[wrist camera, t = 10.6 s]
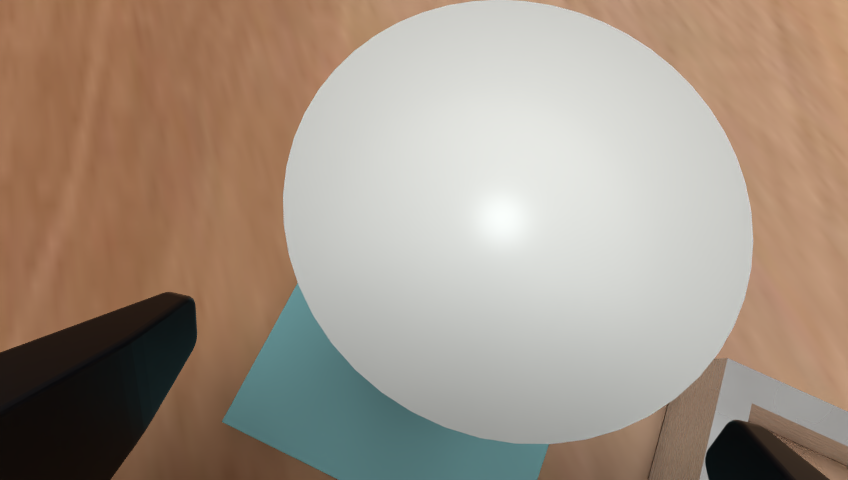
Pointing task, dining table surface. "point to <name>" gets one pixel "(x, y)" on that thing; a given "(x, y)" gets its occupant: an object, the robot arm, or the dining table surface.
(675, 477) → the collar
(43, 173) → the dining table surface
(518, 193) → the ball
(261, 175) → the dining table surface
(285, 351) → the mat
